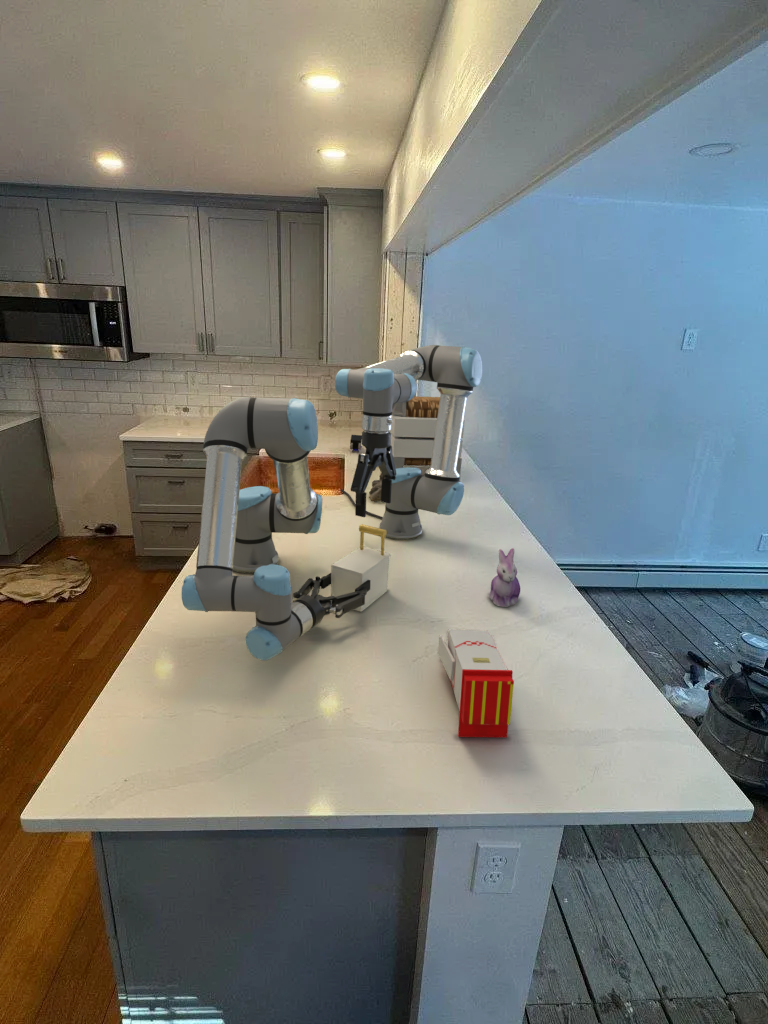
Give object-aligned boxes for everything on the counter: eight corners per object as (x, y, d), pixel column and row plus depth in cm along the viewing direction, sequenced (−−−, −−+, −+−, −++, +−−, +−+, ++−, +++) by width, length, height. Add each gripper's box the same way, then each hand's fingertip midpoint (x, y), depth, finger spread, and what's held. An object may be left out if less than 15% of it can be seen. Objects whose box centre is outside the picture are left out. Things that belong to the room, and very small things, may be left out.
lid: (361, 548, 161) (362, 521, 158) (390, 556, 157) (392, 528, 154) (331, 567, 148) (331, 538, 146) (362, 576, 144) (363, 546, 141)
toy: (488, 613, 130) (523, 677, 101) (484, 667, 133) (517, 744, 104) (435, 612, 130) (455, 676, 101) (432, 666, 133) (451, 743, 103)
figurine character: (361, 456, 307) (362, 446, 320) (362, 442, 303) (362, 433, 317) (349, 455, 306) (350, 446, 320) (349, 442, 303) (350, 433, 316)
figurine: (502, 611, 151) (509, 560, 146) (479, 594, 159) (485, 545, 154) (530, 604, 155) (537, 554, 150) (506, 588, 163) (512, 540, 158)
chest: (358, 581, 164) (359, 549, 160) (387, 590, 160) (389, 557, 156) (330, 602, 152) (331, 567, 148) (361, 611, 148) (362, 576, 144)
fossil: (368, 477, 249) (395, 458, 244) (381, 493, 252) (408, 475, 247) (361, 498, 229) (391, 478, 224) (375, 515, 232) (405, 496, 227)
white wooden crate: (382, 463, 289) (386, 382, 275) (445, 464, 293) (451, 384, 279) (390, 482, 257) (394, 392, 243) (460, 483, 261) (468, 394, 247)
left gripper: (264, 616, 138) (317, 581, 156) (341, 644, 128) (388, 603, 146) (263, 589, 135) (317, 556, 154) (341, 615, 125) (389, 577, 144)
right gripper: (364, 441, 133) (361, 525, 140) (411, 425, 154) (406, 499, 161) (337, 437, 137) (336, 519, 144) (387, 421, 157) (383, 494, 165)
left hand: (352, 579), depth 150 cm, fingers closed on chest, 10 cm apart
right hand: (373, 509), depth 153 cm, fingers open, 13 cm apart
